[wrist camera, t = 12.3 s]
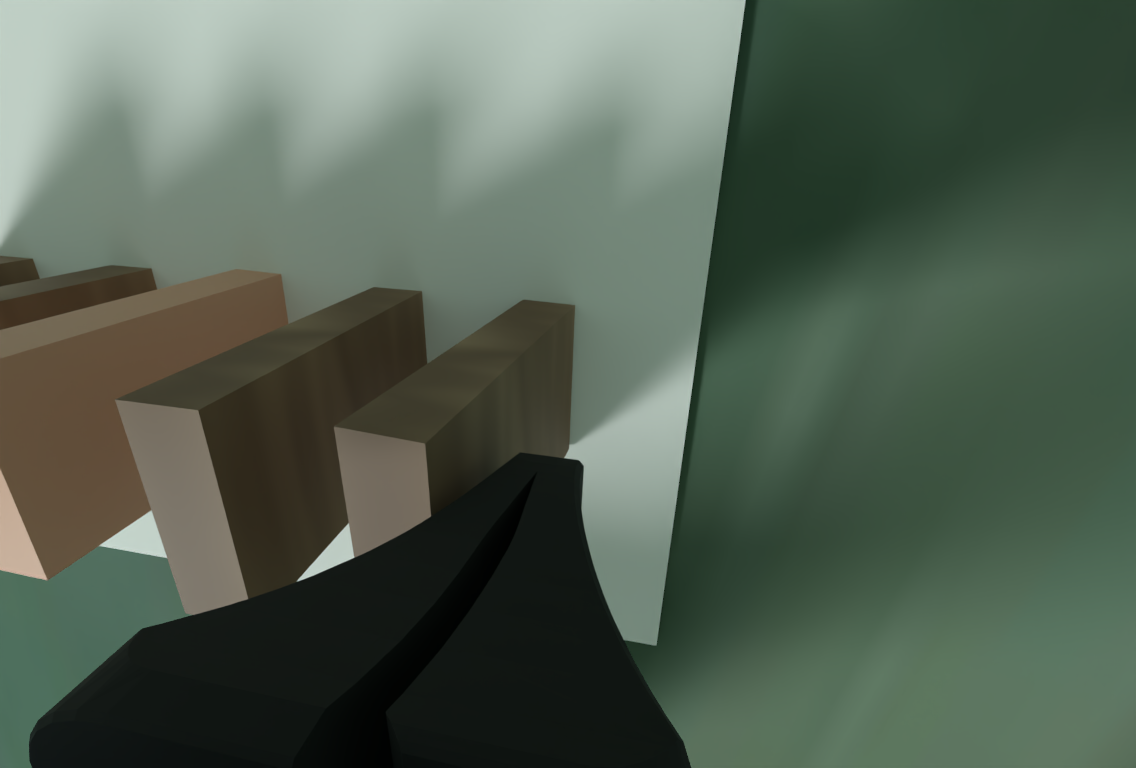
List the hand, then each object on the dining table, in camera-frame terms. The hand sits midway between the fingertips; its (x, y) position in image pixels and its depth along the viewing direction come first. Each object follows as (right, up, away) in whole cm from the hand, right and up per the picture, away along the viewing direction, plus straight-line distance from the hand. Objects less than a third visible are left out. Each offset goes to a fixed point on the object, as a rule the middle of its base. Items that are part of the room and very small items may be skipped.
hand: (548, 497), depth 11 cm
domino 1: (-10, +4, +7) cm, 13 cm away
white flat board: (-10, +4, +8) cm, 13 cm away
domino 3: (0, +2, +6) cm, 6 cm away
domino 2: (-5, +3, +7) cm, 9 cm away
